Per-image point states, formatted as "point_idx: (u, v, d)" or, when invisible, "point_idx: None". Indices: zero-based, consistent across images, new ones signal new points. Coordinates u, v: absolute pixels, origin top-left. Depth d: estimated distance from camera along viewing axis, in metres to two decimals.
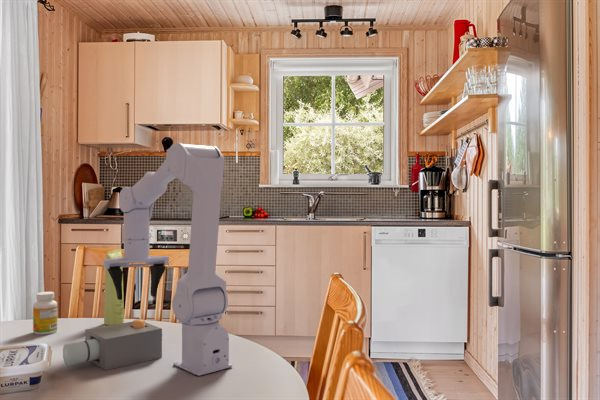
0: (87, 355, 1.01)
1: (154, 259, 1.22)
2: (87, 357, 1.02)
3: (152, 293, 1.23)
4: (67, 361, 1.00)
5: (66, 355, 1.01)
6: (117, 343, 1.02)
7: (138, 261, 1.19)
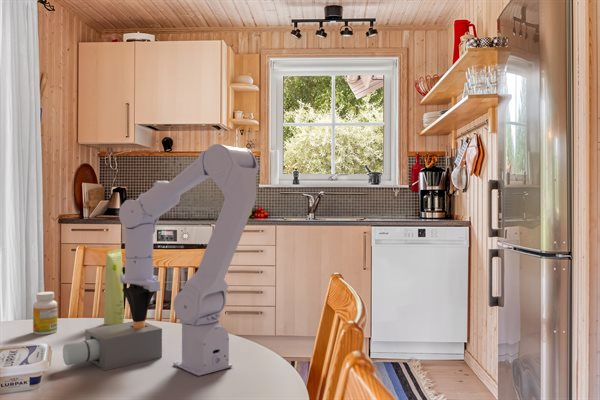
0: (87, 355, 1.01)
1: (138, 282, 1.07)
2: (87, 357, 1.02)
3: None
4: (67, 361, 1.00)
5: (66, 355, 1.01)
6: (117, 343, 1.02)
7: (124, 281, 1.09)
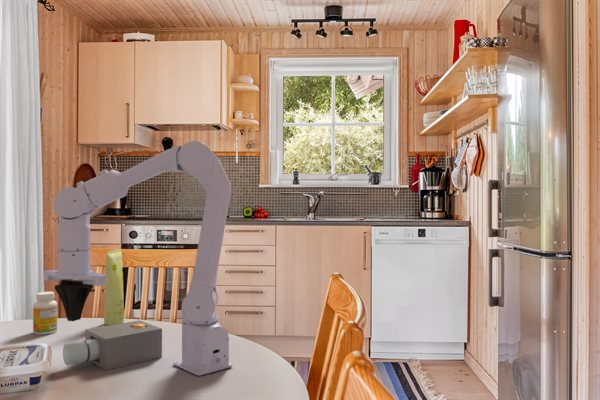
0: (87, 355, 1.01)
1: (80, 277, 0.98)
2: (87, 357, 1.02)
3: None
4: (67, 361, 1.00)
5: (66, 355, 1.01)
6: (117, 343, 1.02)
7: (60, 277, 0.99)
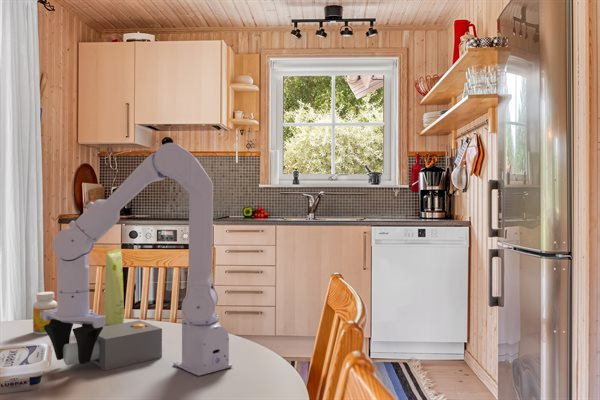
0: None
1: (79, 319, 0.98)
2: None
3: None
4: (67, 361, 1.00)
5: (66, 355, 1.01)
6: (117, 343, 1.02)
7: (59, 318, 0.99)
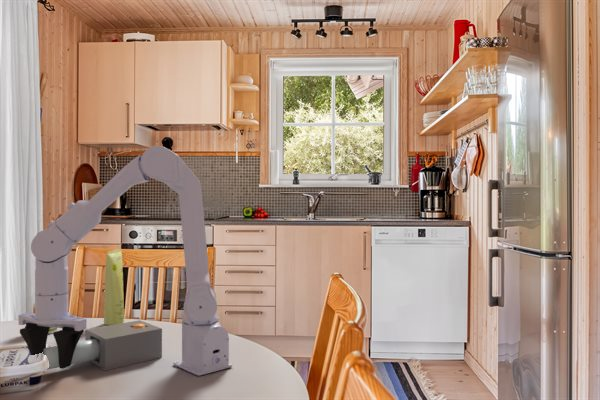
0: None
1: (59, 322, 0.96)
2: None
3: None
4: None
5: None
6: (117, 343, 1.02)
7: (37, 322, 0.96)
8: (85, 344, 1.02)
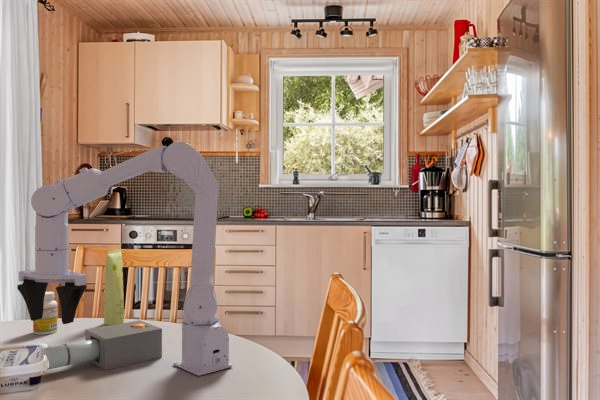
0: (67, 359, 0.99)
1: (59, 276, 0.96)
2: (68, 361, 0.99)
3: None
4: None
5: None
6: (117, 343, 1.02)
7: (37, 277, 0.96)
8: (85, 344, 1.02)
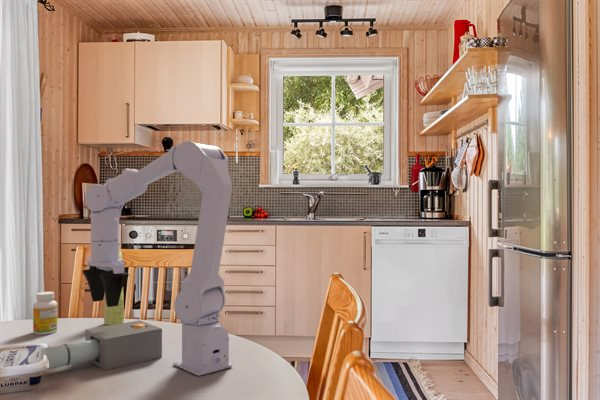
0: (67, 359, 0.99)
1: (103, 264, 1.09)
2: (68, 361, 0.99)
3: None
4: None
5: None
6: (117, 343, 1.02)
7: (90, 264, 1.11)
8: (85, 344, 1.02)
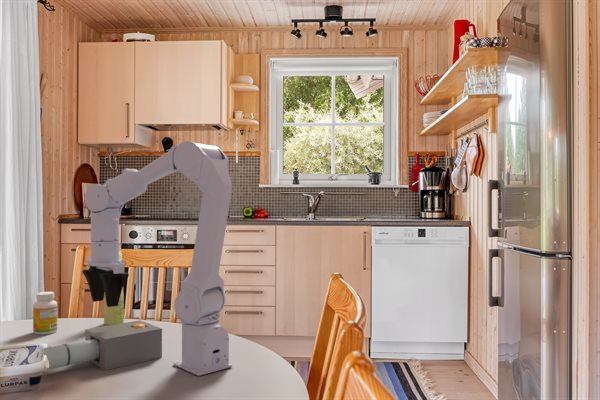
0: (67, 359, 0.99)
1: (103, 264, 1.09)
2: (68, 361, 0.99)
3: None
4: None
5: None
6: (117, 343, 1.02)
7: (90, 264, 1.11)
8: (85, 344, 1.02)
